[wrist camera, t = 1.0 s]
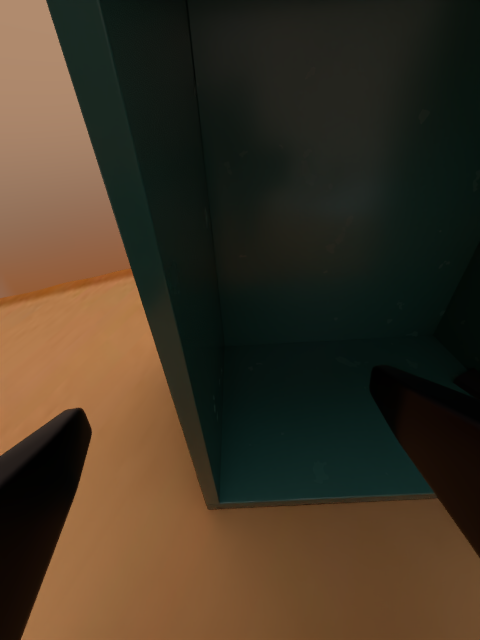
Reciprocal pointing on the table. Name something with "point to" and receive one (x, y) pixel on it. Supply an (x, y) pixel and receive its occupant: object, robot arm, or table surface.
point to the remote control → (469, 382)
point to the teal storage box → (291, 220)
